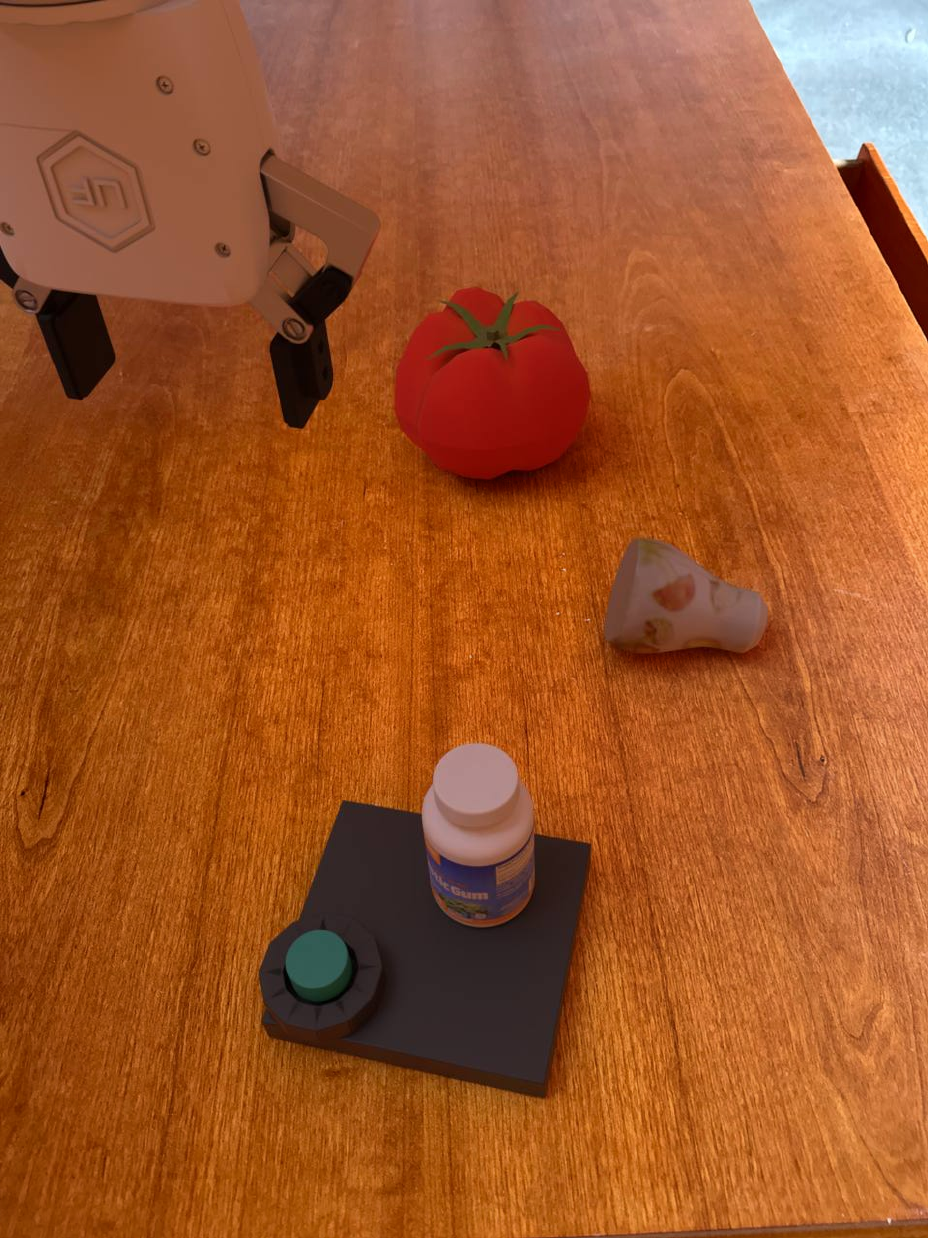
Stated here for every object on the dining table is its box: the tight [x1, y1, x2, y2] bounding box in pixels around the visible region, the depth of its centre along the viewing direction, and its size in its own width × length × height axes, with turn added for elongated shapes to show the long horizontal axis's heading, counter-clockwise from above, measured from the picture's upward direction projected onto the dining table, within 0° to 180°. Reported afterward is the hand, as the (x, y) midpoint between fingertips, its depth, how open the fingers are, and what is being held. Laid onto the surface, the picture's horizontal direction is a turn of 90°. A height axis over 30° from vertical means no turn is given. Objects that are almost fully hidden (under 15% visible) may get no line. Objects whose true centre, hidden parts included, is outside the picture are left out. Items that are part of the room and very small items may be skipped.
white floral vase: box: [603, 537, 769, 654], centre depth 71 cm, size 8×10×10 cm
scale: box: [257, 799, 592, 1100], centre depth 58 cm, size 14×13×4 cm
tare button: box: [286, 930, 352, 1002], centre depth 55 cm, size 3×3×2 cm
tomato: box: [394, 285, 592, 480], centre depth 82 cm, size 13×14×12 cm
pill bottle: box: [421, 742, 535, 927], centre depth 56 cm, size 5×5×10 cm
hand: (198, 393), depth 47 cm, fingers open, 9 cm apart
